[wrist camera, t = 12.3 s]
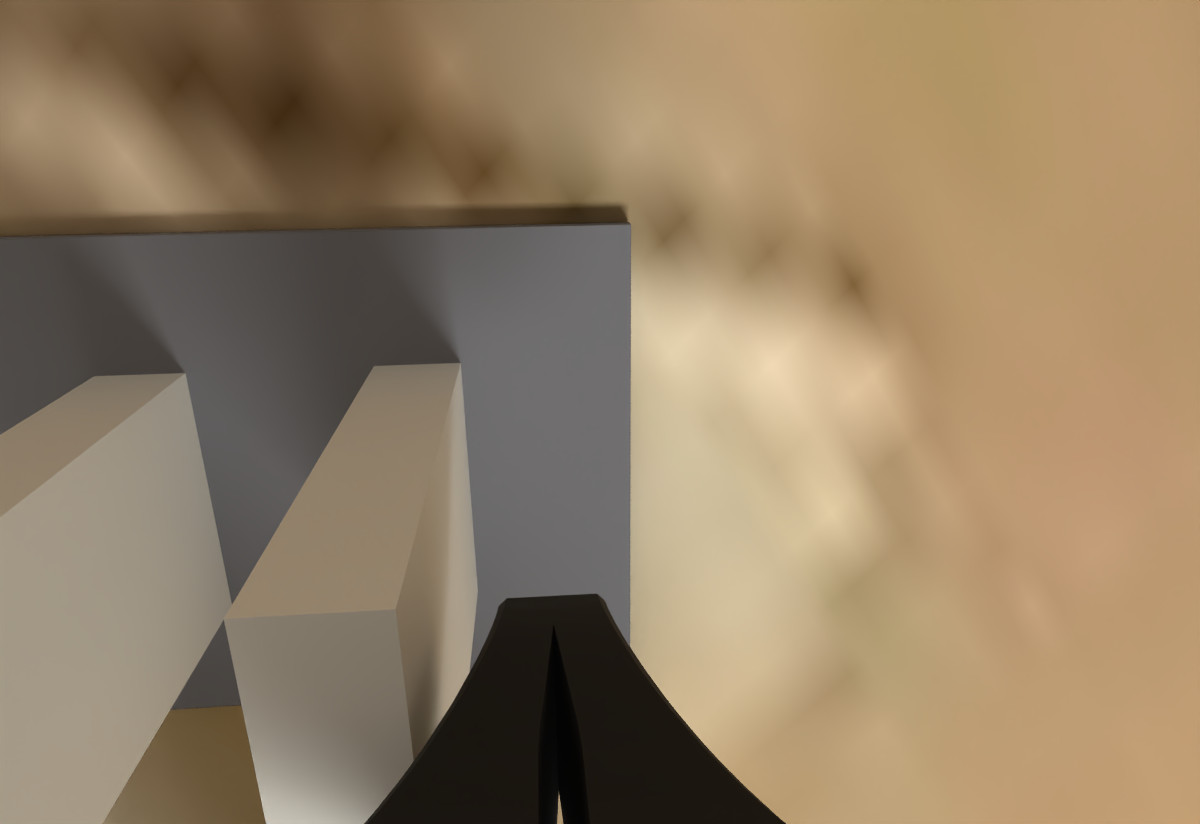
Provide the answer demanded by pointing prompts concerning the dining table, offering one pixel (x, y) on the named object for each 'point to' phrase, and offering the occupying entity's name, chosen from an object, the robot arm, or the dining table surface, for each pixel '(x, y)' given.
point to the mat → (359, 376)
